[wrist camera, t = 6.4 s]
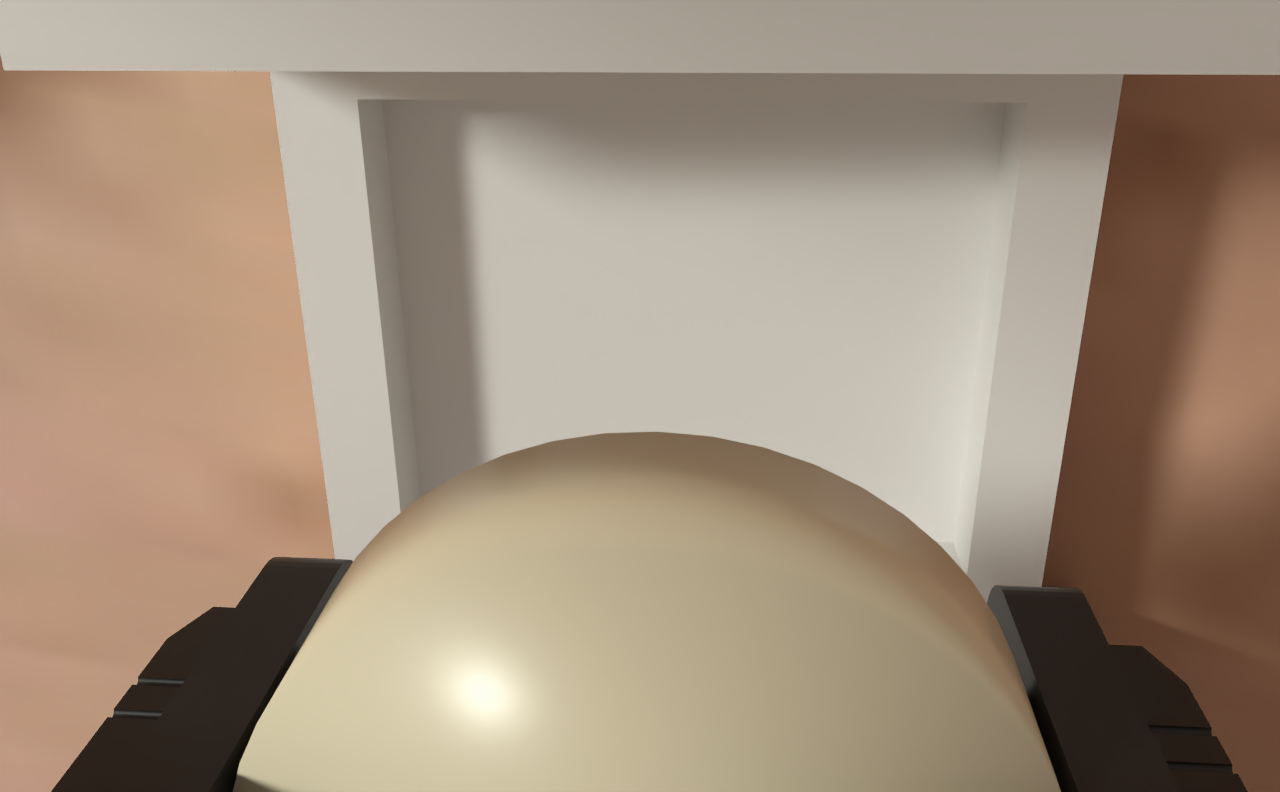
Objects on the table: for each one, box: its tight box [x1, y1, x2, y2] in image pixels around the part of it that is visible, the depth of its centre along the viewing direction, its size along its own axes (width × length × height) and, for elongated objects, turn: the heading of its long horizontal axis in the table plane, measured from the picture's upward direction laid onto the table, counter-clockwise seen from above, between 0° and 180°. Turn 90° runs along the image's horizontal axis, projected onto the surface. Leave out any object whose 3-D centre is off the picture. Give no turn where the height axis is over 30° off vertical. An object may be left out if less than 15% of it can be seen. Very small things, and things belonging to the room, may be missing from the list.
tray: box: [0, 0, 1280, 603], centre depth 17 cm, size 14×14×6 cm
